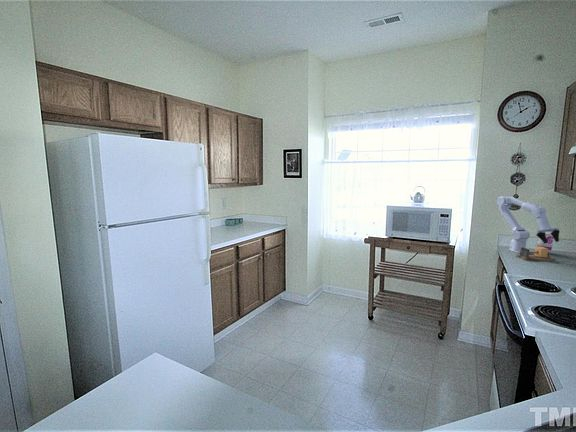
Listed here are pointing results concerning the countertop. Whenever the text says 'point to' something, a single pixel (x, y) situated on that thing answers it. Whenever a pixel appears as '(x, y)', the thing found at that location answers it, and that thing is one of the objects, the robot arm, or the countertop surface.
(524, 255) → the rail stand
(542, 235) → the robot arm
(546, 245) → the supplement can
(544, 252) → the sleeve
